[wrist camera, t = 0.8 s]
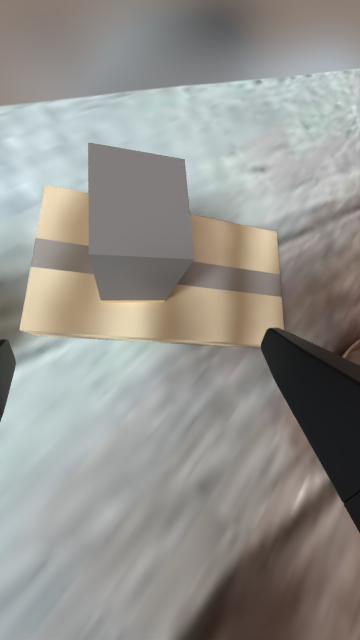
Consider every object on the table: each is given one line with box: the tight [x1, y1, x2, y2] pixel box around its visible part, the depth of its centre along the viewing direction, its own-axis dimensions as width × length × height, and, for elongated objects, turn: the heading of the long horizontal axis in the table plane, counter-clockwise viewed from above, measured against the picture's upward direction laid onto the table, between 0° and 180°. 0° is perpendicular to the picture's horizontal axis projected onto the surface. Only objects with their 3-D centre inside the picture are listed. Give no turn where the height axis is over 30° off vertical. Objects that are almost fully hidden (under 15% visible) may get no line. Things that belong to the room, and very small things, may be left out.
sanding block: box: [88, 143, 194, 303], centre depth 15 cm, size 6×5×8 cm
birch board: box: [20, 185, 284, 348], centre depth 21 cm, size 22×12×3 cm, turn 89°
